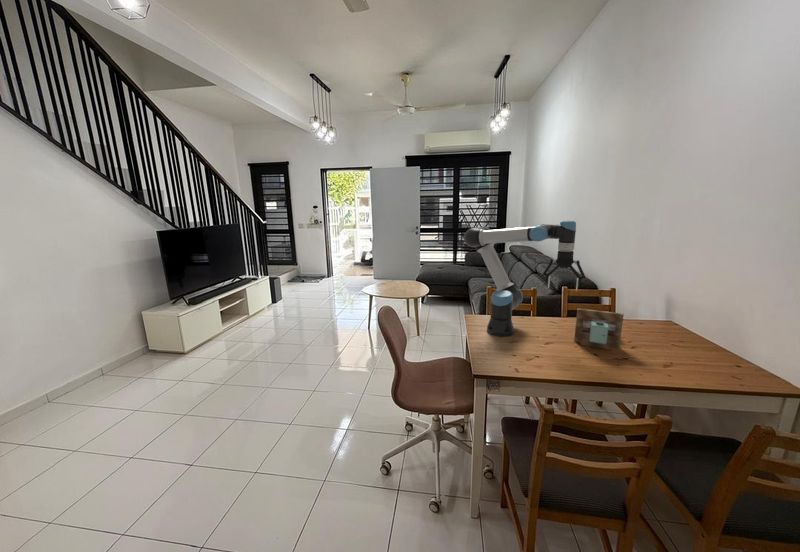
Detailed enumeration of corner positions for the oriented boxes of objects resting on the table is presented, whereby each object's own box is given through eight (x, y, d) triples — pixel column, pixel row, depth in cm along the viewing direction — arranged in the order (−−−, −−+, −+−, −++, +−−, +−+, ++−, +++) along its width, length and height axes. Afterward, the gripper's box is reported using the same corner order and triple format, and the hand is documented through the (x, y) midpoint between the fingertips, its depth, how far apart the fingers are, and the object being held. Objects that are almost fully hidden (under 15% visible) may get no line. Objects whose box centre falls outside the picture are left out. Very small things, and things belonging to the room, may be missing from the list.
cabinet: (589, 342, 158) (591, 323, 155) (589, 334, 166) (591, 316, 163) (606, 344, 155) (608, 325, 152) (605, 337, 162) (607, 318, 159)
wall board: (574, 343, 167) (577, 311, 163) (574, 337, 174) (577, 306, 170) (619, 350, 158) (624, 316, 154) (618, 344, 165) (622, 311, 161)
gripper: (539, 250, 170) (536, 288, 175) (593, 252, 158) (589, 293, 163) (540, 248, 177) (538, 285, 181) (592, 250, 165) (588, 290, 169)
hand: (562, 289), depth 172 cm, fingers open, 13 cm apart
